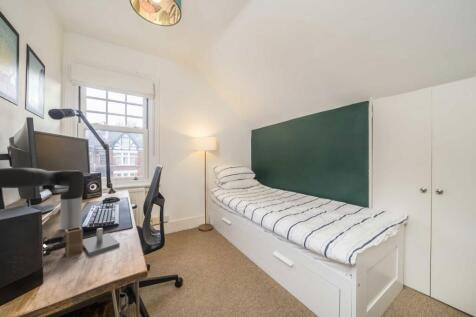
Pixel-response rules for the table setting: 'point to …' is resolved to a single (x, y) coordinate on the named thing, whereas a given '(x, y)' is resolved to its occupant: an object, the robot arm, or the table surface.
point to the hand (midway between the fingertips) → (64, 241)
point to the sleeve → (73, 241)
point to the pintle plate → (99, 243)
